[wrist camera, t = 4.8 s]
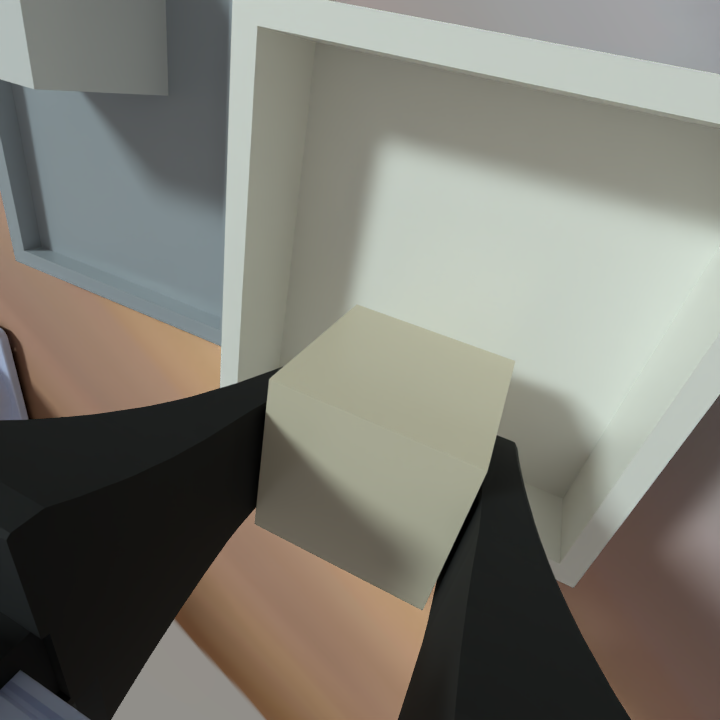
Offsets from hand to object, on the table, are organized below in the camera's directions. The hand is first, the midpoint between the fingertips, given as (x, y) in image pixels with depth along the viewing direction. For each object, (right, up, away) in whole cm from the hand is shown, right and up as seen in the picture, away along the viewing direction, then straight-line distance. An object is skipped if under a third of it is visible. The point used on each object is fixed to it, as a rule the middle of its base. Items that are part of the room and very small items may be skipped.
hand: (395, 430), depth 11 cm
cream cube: (0, +1, +1) cm, 1 cm away
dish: (+2, +4, +2) cm, 4 cm away
